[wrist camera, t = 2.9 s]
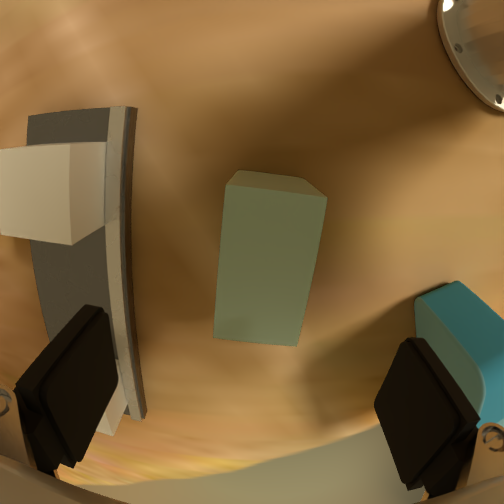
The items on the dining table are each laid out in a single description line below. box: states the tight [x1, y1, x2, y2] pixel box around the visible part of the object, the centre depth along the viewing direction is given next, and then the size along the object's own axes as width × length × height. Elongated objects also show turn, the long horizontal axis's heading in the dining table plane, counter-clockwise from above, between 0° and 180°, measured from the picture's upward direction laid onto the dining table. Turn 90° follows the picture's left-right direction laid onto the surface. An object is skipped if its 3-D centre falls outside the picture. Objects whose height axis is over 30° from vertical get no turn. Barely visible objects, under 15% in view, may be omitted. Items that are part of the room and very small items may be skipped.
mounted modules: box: [0, 142, 128, 436], centre depth 21 cm, size 25×7×5 cm, turn 173°
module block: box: [213, 170, 328, 347], centre depth 18 cm, size 8×4×8 cm, turn 173°
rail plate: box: [27, 106, 147, 422], centre depth 23 cm, size 30×10×2 cm, turn 173°
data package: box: [414, 281, 504, 429], centre depth 19 cm, size 12×4×12 cm, turn 20°
